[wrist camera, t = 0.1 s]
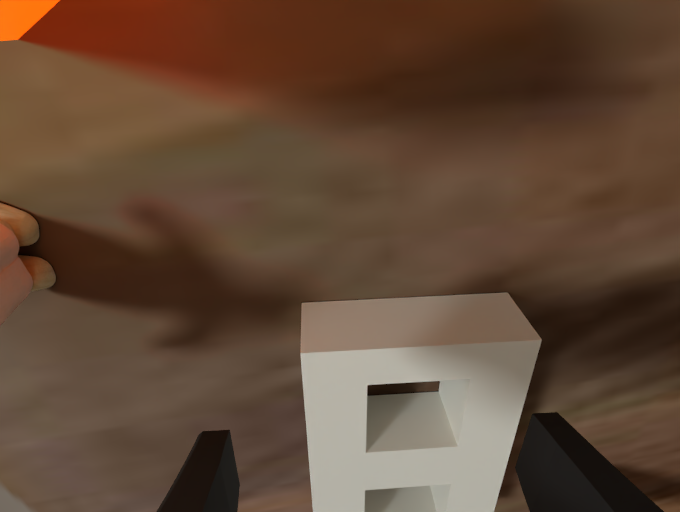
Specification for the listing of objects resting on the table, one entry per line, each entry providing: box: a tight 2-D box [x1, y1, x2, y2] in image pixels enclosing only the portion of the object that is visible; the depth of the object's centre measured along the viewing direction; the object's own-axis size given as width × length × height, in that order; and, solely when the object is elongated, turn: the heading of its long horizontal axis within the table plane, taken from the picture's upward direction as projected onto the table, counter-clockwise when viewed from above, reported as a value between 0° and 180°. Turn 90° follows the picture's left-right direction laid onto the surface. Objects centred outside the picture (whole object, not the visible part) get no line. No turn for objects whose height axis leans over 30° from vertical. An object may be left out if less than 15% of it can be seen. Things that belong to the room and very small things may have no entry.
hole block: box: [301, 292, 542, 512], centre depth 23 cm, size 16×10×4 cm, turn 1°
